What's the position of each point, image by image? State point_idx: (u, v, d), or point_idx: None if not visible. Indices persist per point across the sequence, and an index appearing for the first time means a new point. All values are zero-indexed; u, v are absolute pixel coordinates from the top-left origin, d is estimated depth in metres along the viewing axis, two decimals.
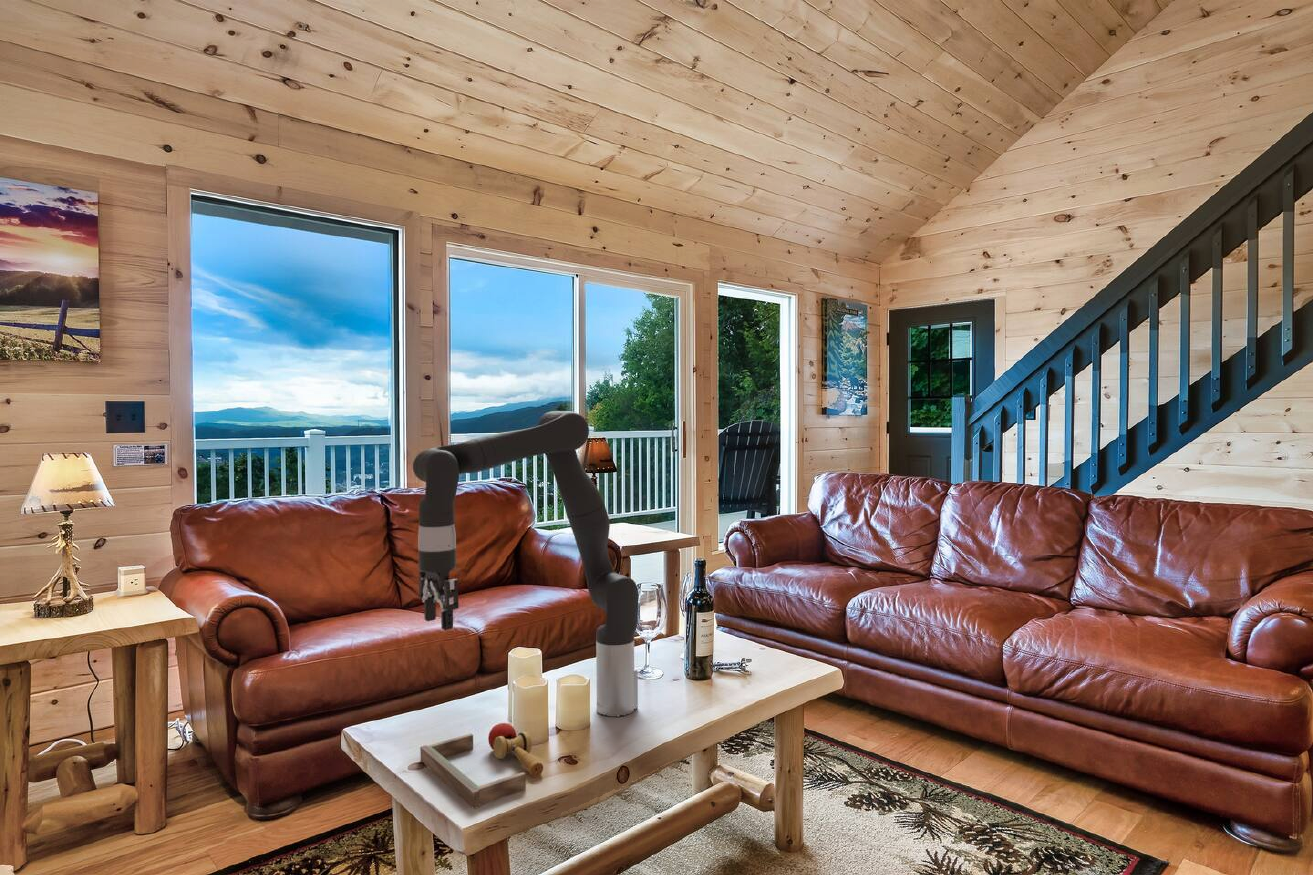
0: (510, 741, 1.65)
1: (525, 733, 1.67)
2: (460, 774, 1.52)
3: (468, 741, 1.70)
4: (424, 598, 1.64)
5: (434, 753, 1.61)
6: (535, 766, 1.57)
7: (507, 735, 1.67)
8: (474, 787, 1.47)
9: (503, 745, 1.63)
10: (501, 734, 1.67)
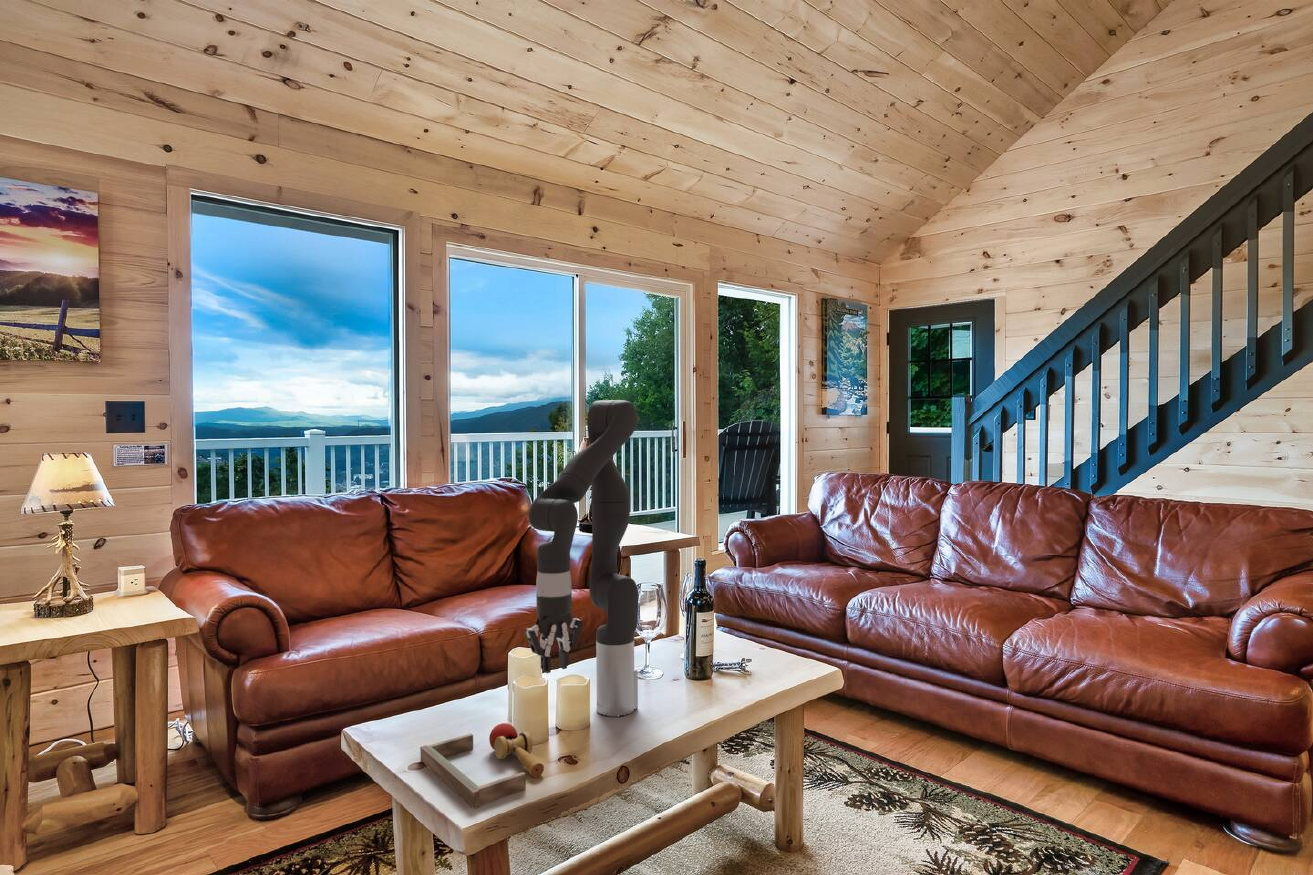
0: (511, 741, 1.65)
1: (526, 733, 1.67)
2: (460, 774, 1.52)
3: (468, 741, 1.70)
4: (548, 650, 1.67)
5: (434, 753, 1.61)
6: (536, 766, 1.57)
7: (508, 735, 1.67)
8: (474, 787, 1.47)
9: (504, 745, 1.62)
10: (502, 734, 1.66)
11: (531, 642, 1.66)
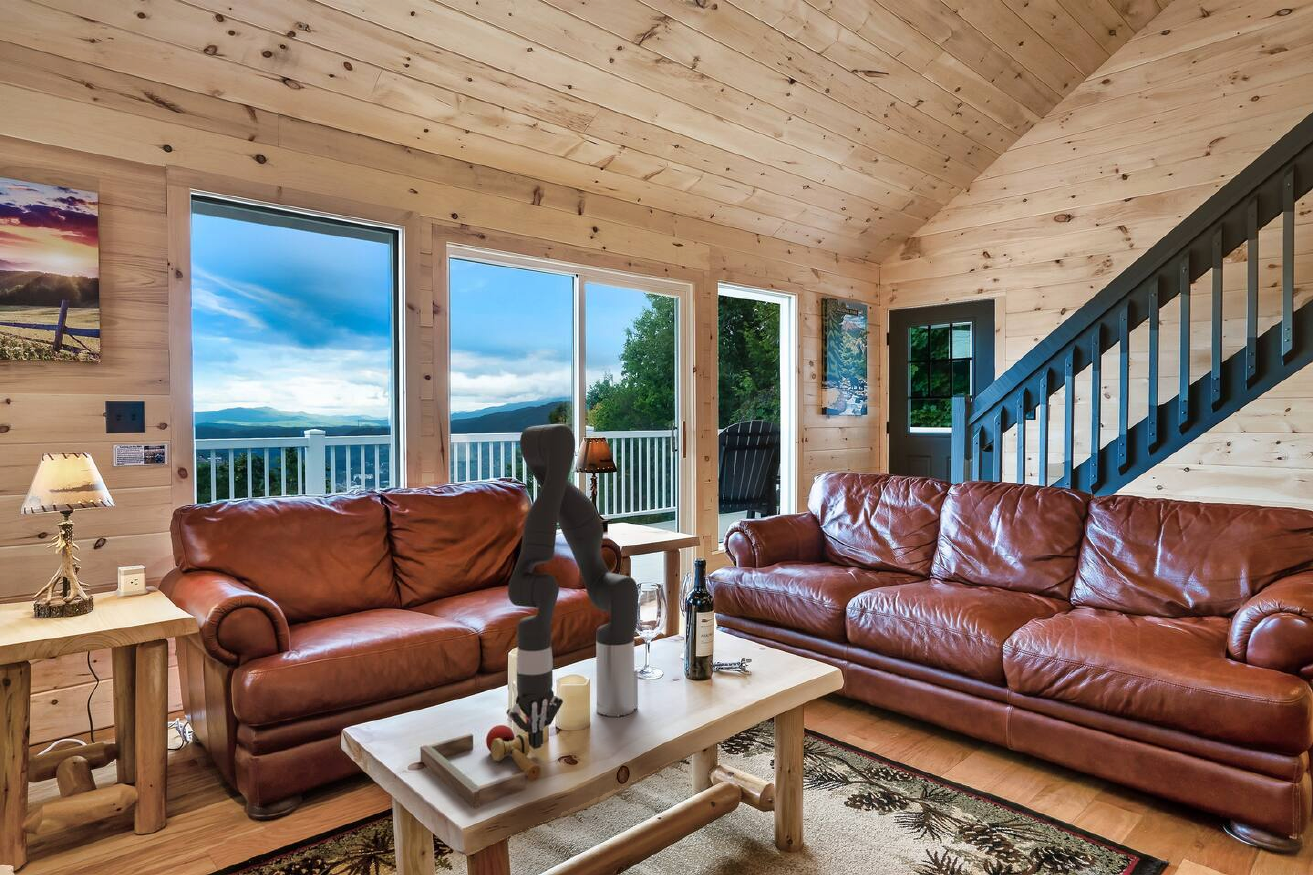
0: (508, 743, 1.64)
1: (523, 735, 1.66)
2: (460, 774, 1.52)
3: (468, 741, 1.70)
4: (535, 726, 1.66)
5: (434, 753, 1.61)
6: (532, 769, 1.56)
7: (505, 737, 1.66)
8: (474, 787, 1.47)
9: (501, 747, 1.61)
10: (499, 736, 1.65)
11: (516, 722, 1.64)
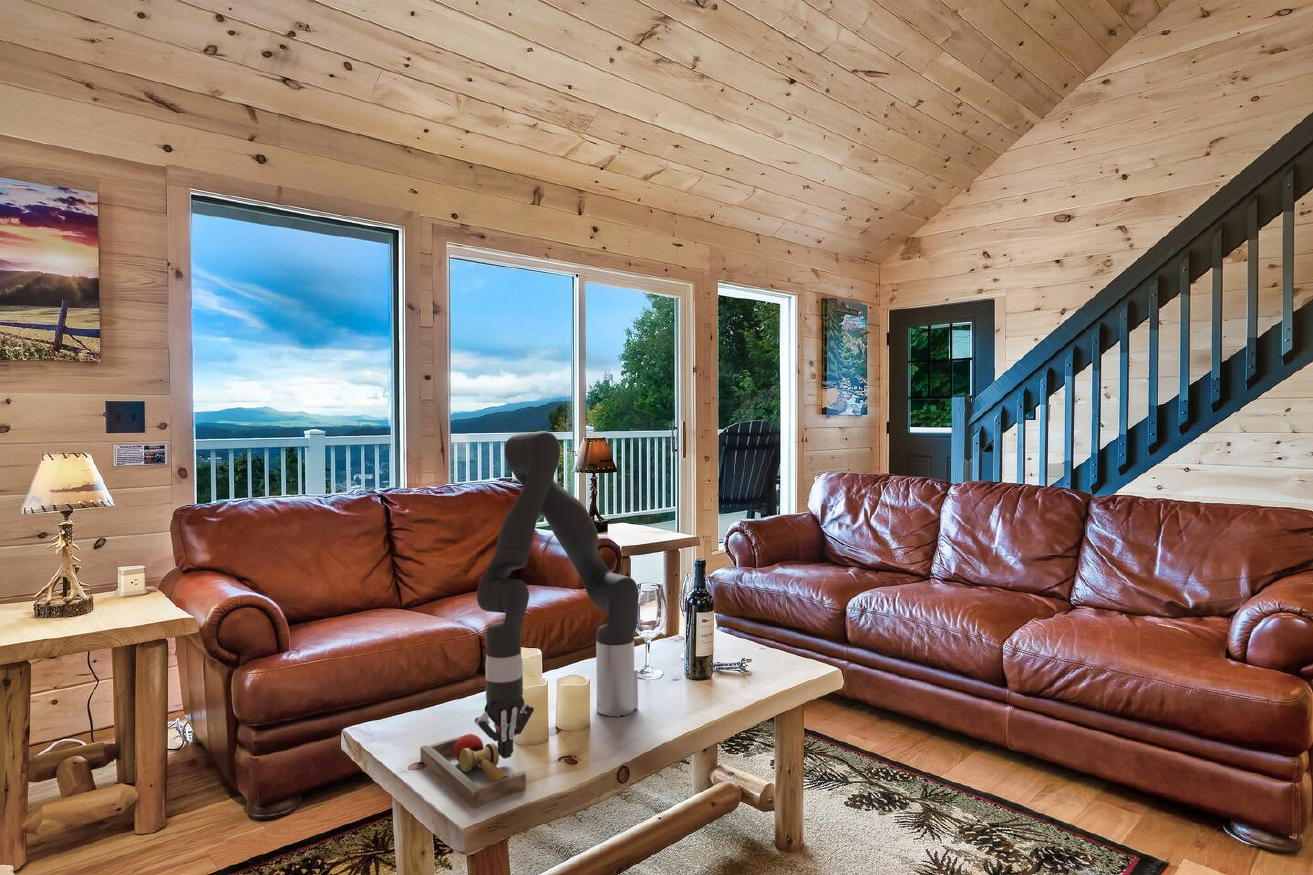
0: (476, 753, 1.59)
1: (492, 744, 1.62)
2: (460, 774, 1.52)
3: None
4: (504, 735, 1.61)
5: (434, 753, 1.61)
6: None
7: (473, 747, 1.61)
8: (474, 787, 1.47)
9: (469, 757, 1.57)
10: (467, 746, 1.61)
11: (484, 731, 1.59)
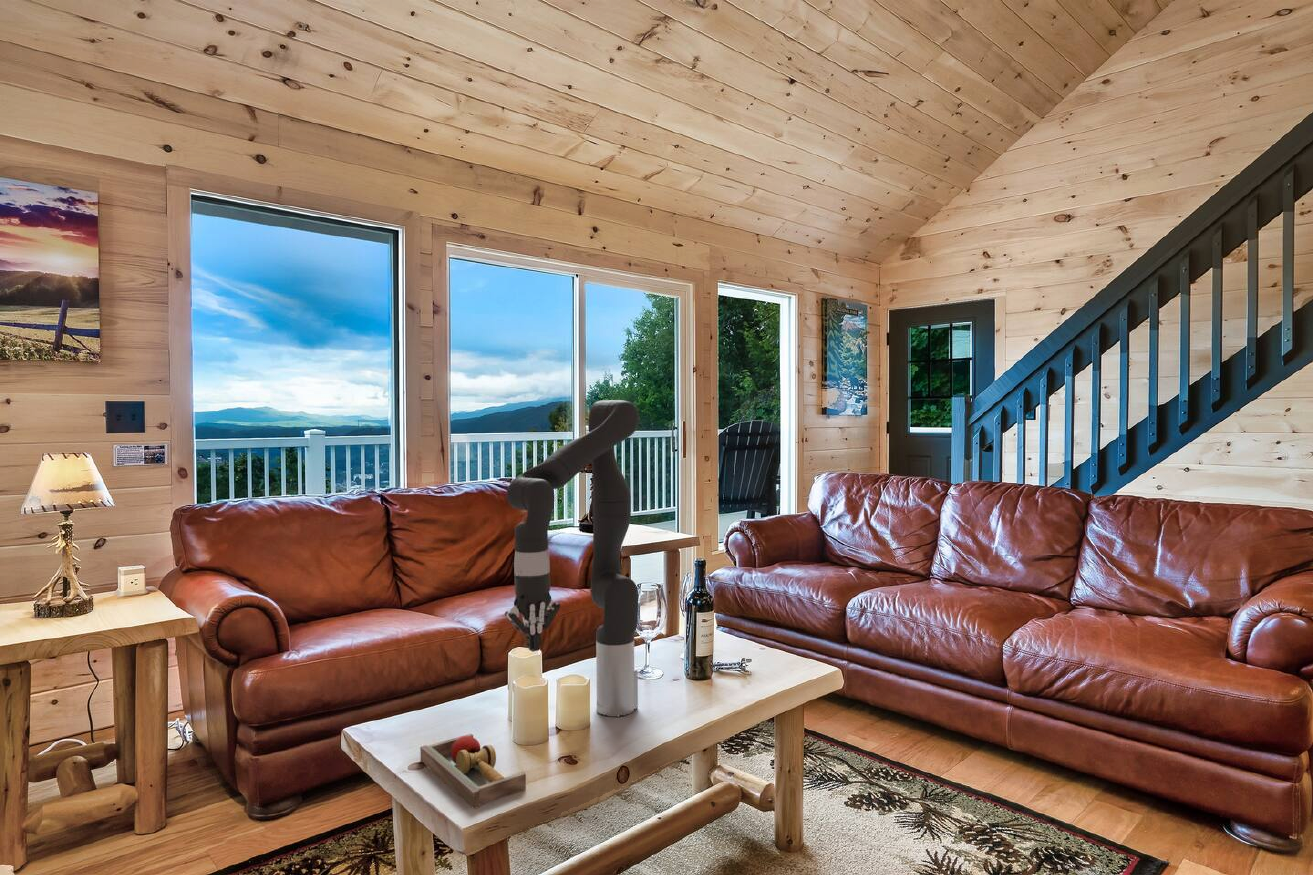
0: (473, 755, 1.58)
1: (489, 746, 1.61)
2: (460, 774, 1.52)
3: None
4: (533, 628, 1.68)
5: (434, 753, 1.61)
6: None
7: (470, 749, 1.60)
8: (474, 787, 1.47)
9: (466, 759, 1.56)
10: (464, 748, 1.60)
11: (514, 624, 1.66)
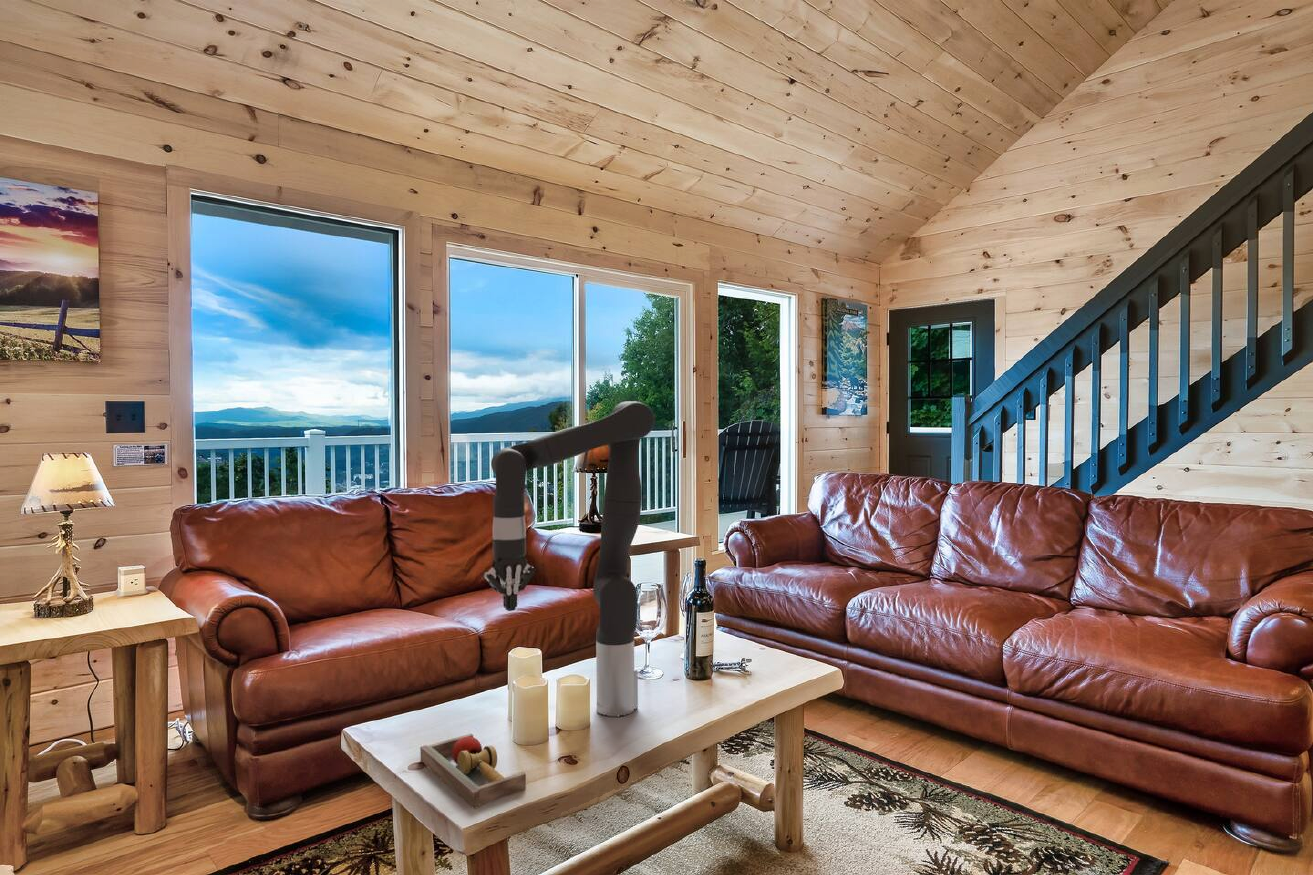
0: (475, 756, 1.58)
1: (491, 747, 1.60)
2: (460, 774, 1.52)
3: None
4: (509, 589, 1.80)
5: (434, 753, 1.61)
6: None
7: (472, 749, 1.60)
8: (474, 787, 1.47)
9: (467, 760, 1.56)
10: (465, 748, 1.60)
11: (492, 584, 1.78)
